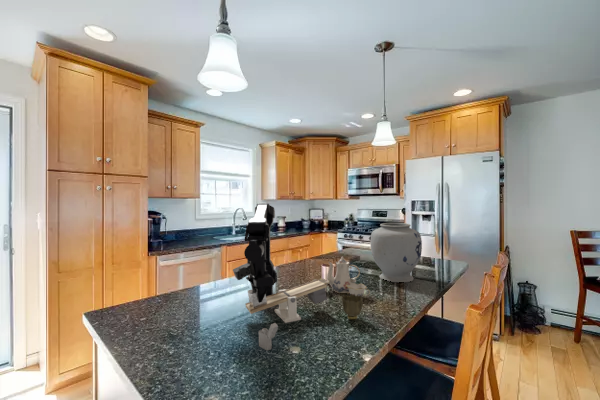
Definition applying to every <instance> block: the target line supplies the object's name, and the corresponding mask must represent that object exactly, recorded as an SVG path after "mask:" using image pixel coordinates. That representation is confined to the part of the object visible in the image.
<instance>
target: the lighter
mask: <svg viewBox="0 0 600 400" xmlns="http://www.w3.org/2000/svg"><path fill="white" fill-rule="evenodd" d="M278 329H279V326H278V324H277V323H276V322H274V323H271V324H270V326H269V329H268V328H266V327H264V328H263V327H262V329H260V330H258V346H259V347H260V348H262V349H263V350H265V351H270V350H272V343H273V342H272V339H274V338H275V336H276V334H277V332H278Z"/></svg>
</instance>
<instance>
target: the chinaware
mask: <svg viewBox="0 0 600 400" xmlns="http://www.w3.org/2000/svg"><path fill="white" fill-rule="evenodd" d="M328 264H329V268H328V272H327V276H326V278H327V280H326V279H325V278H319V279H318V278H313V279H312V280H311V281H314V280H318V281H320V282H322V283H324V284H326V286H327V287H328V285H330V286H331V287H332V289H333V292H334V291H335V292H334V293H336V292H337V294H340V293H347V294H349V295H351V294H352V295H353V294H355V296H357V295H358V296H360V295H361V297H362V298H364V296H365V297H368V296H369V295H370V293H371V292H370V289H368V288H367V286H366V285H365V284H364V283H356V282H357V278H359V277H360V274H361V271H360V268H359V266H357V265H355V264H350V262H349V261H347V260H346V259H345V258H344V256H341V257H340V259H339V260H338V261H335V264H336V265H335V266H336V273H335V277H333V270H334V264H333V263H332V262H331V261H328ZM354 267H355V268H356V269H357V271H358V274H357V276H355V277H350V274H349V273H350V271H349V269H350V270H351V269H352V268H354ZM327 287H326V288H325V291H327ZM365 291H368V294H365Z"/></svg>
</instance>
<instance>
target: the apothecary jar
mask: <svg viewBox="0 0 600 400" xmlns="http://www.w3.org/2000/svg"><path fill="white" fill-rule="evenodd" d="M379 226H380V227H378V228H376V229H374V230H373V231H372V232H371V234H370V251H371V256H372V259H373V261H374V263H375V265H377V266H378V268H379V269H380V270H381V272H382V273H381V274H379V278H380V279H381V280H383V279H384V281H385V280H387V281H386V282H390V281H391V282H390V283H399V282H404V283H410V281H411V282H413V281H414V278H415V277H413V275H411V273H412V272H413V270H415V268H416V266H417V265H418V264H419V261H420V259H421V257H422V250H423V248H422V247H423V240H422V234H421V233H420V232H419V231H418V230H416V229H413V228H411V224H410V223H404V222H383V223H380V225H379Z"/></svg>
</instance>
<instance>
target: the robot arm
mask: <svg viewBox="0 0 600 400" xmlns="http://www.w3.org/2000/svg"><path fill="white" fill-rule="evenodd" d="M275 210H276V209H275V207H274V206H272V205H270V203H268V202H258V203H257V202H256V206H255V207H254V217H252V218H250V219H249V221H248V222H247V224H246V225H245V232H244V233H245V235H244V242H248V245H247V246H246V248H244V253H243V256H244V257H245V259H246V260H247V261H246V263H244V264H241V265H240V266H237V267H235V268H233V269H232V271H233V275H234V277H235V279H236V280H237V281H241V280H243V279H244V278H245V280H247V281H249V283H250V286H251V289H254V288H256V290H257V296H258V302H259V303H260V302H262V300H263V298H264V296H265V294H266V297H267V296H270V295H273V294H274V291H273V290H274V289H273V288H274V285H275V284H276V283H278V274H277V273H278V272H277V271H276V269H275V264H274V263H273V261H272V260H271V227H272V225H273V223H274V219H275V218H276V211H275Z"/></svg>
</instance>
